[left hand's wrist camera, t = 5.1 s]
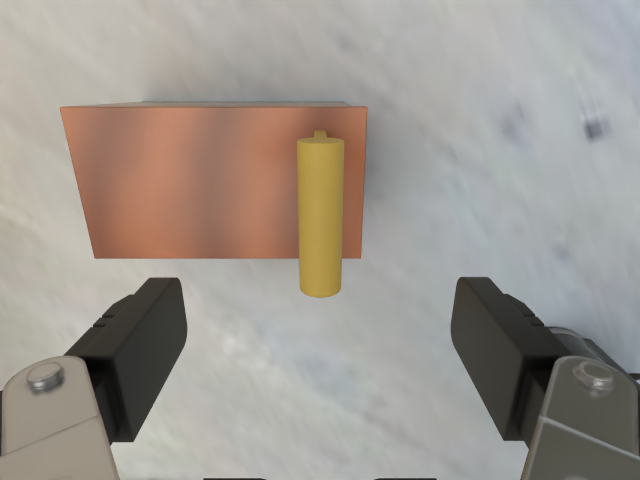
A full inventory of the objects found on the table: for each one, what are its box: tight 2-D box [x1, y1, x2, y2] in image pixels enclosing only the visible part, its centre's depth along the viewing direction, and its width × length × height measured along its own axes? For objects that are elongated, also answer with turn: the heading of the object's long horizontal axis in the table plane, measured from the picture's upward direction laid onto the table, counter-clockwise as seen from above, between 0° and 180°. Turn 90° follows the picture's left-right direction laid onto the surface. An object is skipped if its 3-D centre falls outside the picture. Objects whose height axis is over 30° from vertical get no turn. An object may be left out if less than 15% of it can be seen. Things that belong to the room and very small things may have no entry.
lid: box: [60, 106, 367, 297], centre depth 22 cm, size 18×10×9 cm, turn 90°
